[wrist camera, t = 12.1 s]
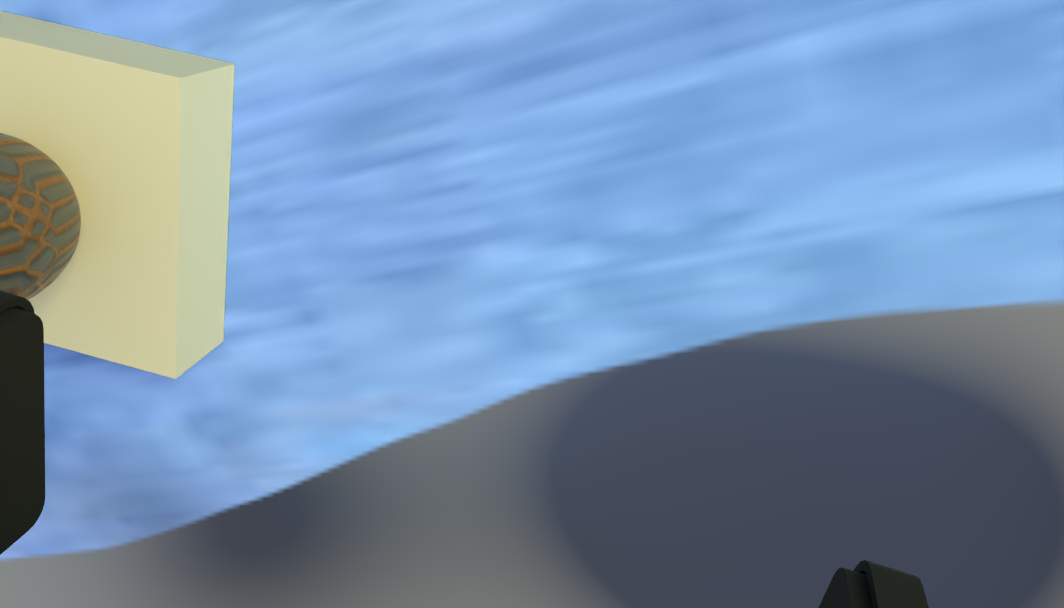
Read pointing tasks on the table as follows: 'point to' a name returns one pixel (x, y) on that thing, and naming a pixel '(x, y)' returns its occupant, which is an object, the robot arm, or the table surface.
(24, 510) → the robot arm
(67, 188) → the vase
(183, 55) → the plinth
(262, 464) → the table surface
